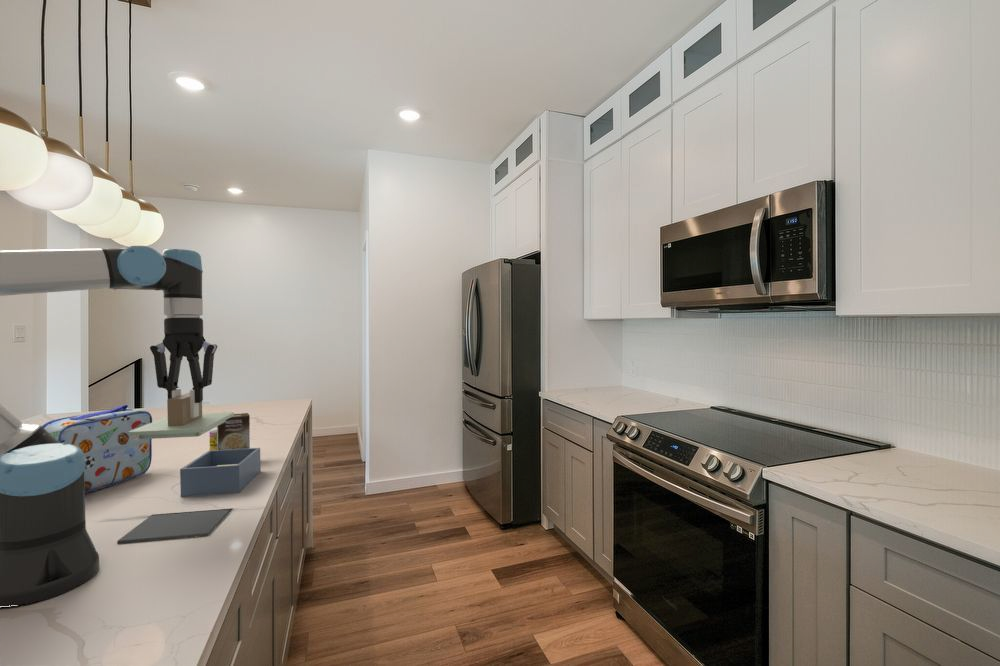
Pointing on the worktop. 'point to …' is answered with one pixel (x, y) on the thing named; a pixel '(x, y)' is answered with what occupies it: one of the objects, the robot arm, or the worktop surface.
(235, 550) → the worktop surface
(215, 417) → the lid
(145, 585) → the worktop surface
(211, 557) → the worktop surface
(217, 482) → the storage box
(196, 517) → the mat
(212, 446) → the supplement bottle
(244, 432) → the coffee box
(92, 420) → the lunch box
